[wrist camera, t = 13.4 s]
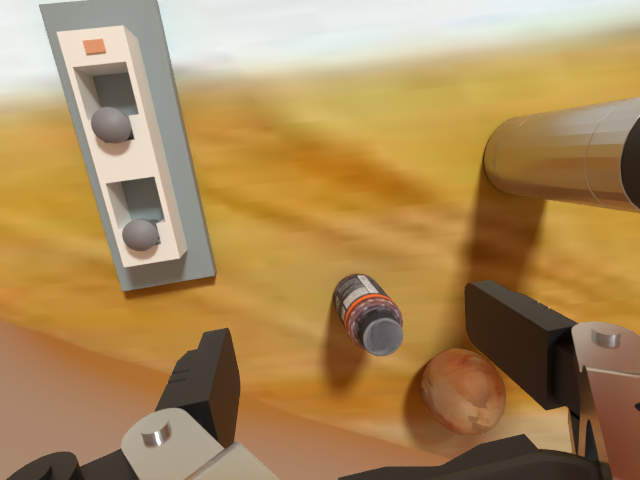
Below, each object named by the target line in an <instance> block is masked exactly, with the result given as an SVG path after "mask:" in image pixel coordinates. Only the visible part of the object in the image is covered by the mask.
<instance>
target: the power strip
mask: <svg viewBox="0 0 640 480" xmlns="http://www.w3.org/2000/svg"><path fill="white" fill-rule="evenodd" d="M57 36H58V39H59V43H60V46H61V50H62V53H63V57H64V60H65V64H66V67H67V71H68V74H69V78H70V81H71V85H72V88H73V92H74V95H75V99H76V102H77V106H78V109H79V113H80V116H81V120H82V123H83V127H84V130H85V134H86V137H87V141H88V144H89V148H90V151H91V155H92V158H93V162H94V165H95V169H96V172H97V176H98V179H99V183H100V186H101V190H102V193H103V197H104V200H105V204H106V207H107V211H108V214H109V218H110V221H111V225H112V228H113V232H114V235H115V239H116V242H117V246H118V249H119V253H120V256H121V260H122V263H123V267H130V266H136V265H142V264H149V263H155V262H161V261H167V260H173V259H179V258H181V257H182V255H183V254H184V253H185V252H186V251H187V250H188V249H187V244H186V240H185V236H184V232H183V227H182V223H181V219H180V215H179V211H178V206H177V202H176V198H175V194H174V189H173V185H172V181H171V177H170V172H169V168H168V164H167V160H166V156H165V151H164V147H163V143H162V139H161V134H160V130H159V126H158V122H157V117H156V113H155V109H154V105H153V101H152V96H151V92H150V88H149V84H148V79H147V75H146V71H145V67H144V62H143V58H142V54H141V50H140V46H139V41H138V38H137V37H136V36H134V35H133V34H132V33H131V32H130V31H129V30H128V29H127V28H126V27H124V26H123V25H121V26H111V27H101V28H91V29H81V30H70V31H60V32H57ZM126 72H129V76H130V80H131V84H132V88H133V92H134V96H135V100H136V104H137V108H138V113H139V114H137V115H129V119H130V123H131V127H132V131H133V135H134V139H135V140H127V141H124V142H121V143H107V142H104V141H102V140H101V139H99V138H98V137H97V136H96V135H95V134H94V132H93V130H92V127H91V118H92V116H93V114H94V112H95V111H97V110H98V109H100V108H101V106H100V102H99V99H98V95H97V91H96V87H95V84H94V80H93V76H99V75H108V74H117V73H126ZM148 177H155V181H156V185H157V189H158V193H159V197H160V201H161V206H162V210H163V214H164V218H165V219H163V220H161V221H160V222H158V223H156V225H157V229H158V233H159V237H160V238H159V239H158V241H157V242H156V244H155V245H154V246H153V247H151V248H150V249H148V250H146V251H135V250H132V249H130V248H129V247H128V246H127V245H126V244H125V243H124V241H123V238H122V231H123V228H124V227H125V225H126V224H128V223H129V222H131V221H132V220H131V217H130V213H129V209H128V206H127V202H126V198H125V195H124V191H123V187H122V183H121V181H126V180H133V179H140V178H148Z"/></svg>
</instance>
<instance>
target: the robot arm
mask: <svg viewBox="0 0 640 480" xmlns="http://www.w3.org/2000/svg"><path fill="white" fill-rule="evenodd" d="M484 165H485V171H486V174H487V177H488V178H489V180H490V182H491V183H492V184H493V185H494V186H495V187H496V188H497V189H499V190H500V191H502V192H505V193H508V194H514V195H521V196H527V197H533V198H540V199H547V200H553V201H560V202H567V203H573V204H580V205H587V206H594V207H600V208H607V209H614V210H622V211H629V212H635V213H640V97H636V98H630V99H623V100H617V101H611V102H605V103H599V104H593V105H587V106H581V107H575V108H569V109H563V110H557V111H551V112H544V113H538V114H532V115H526V116H520V117H515V118H513V119H510V120H508V121H506V122H505V123H503V124H502V125H501V126H499V127H498V128H497V129H496V130H495V132H494V133H493V134H492V136H491V137H490V139H489V142H488V144H487V146H486V150H485V156H484ZM465 315H466V330H467V333H468V336H469V338H470V340H471V342H472V343H473V344H474V345H475V346H476V347H477V348H478V349H479V350H480V351H481V352H483V353H484V354H485V355H486V356H487V357H488V358H489V359H490V360H491V361H492V362H494V363H495V364H496V365H497V366H498V367H499V368H500V369H501V370H502V371H503V372H504V373H506V374H507V375H508V376H509V377H510V378H511V379H512V380H513V381H514V382H515V383H517V384H518V385H519V386H520V387H521V388H522V389H523V390H524V391H525V392H526V393H527V394H529V395H530V396H531V397H532V398H533V399H534V400H535V401H536V402H537V403H538V404H540V405H541V406H542V407H543V408H544V409H545V410H550V409H554V408H559V407H563V406H567V407H568V425H569V432H570V440H571V447H572V454H571V453H567V452H562V451H556V450H546V449H538V448H537V447H536V446H535V445H534V444H533V443H532V442H531V441H530V440H529V439H528V437H527V436H526V435H525V434H521V435H517V436H513V437H509V438H504V439H500V440H496V441H492V442H488V443H483V444H480V445H478V446H476V447H474V448H473V449H471V450H469V451H467V452H465V453H464V454H462V455H460V456H458V457H456V458H454V459H453V460H451V461H449V462H447V463H445V464H444V465H441V466H434V467H383V468H379V469H374V470H370V471H365V472H362V473H357V474H353V475H349V476H344V477H341V478H338V480H640V336H639V335H638V334H636V333H635V332H633V331H631V330H629V329H626V328H624V327H621V326H618V325H614V324H609V323H602V322H584V323H580V324H578V323H576V322H575V321H573V320H571V319H569V318H567V317H565V316H563V315H561V314H560V313H558V312H556V311H554V310H552V309H548V307H547V306H545V305H543V304H541V303H538V302H537V301H535V300H534V299H532V298H530V297H528V296H526V295H524V294H520V293H517V292H513V291H510V290H509V289H507V288H505V287H503V286H501V285H500V284H498V283H496V282H494V281H492V280H484V281H478V282H473V283H468V284H467V285H466V286H465ZM239 397H240V376H239V370H238V365H237V361H236V356H235V352H234V347H233V343H232V338H231V334H230V331H229V329H228V328H224V329H219V330H214V331H208V332H204V333H203V336H202V338H201V341H200V344H199V346H198V349H196V350H191V351H188V352H187V353H186V354H185V355H184V356H183V357H182V358H181V359H179V360H178V361H177V363H176V365H175V368H174V370H173V372H172V375H171V376H170V379H169V381H168V384H167V385H166V387H165V390H164V392H163V394H162V396H161V398H160V401H159V403H158V405H157V407H156V410H155V412H154V413H152V414H150V415H148V416H146V417H144V418H143V419H141V420H140V421H138V422H137V423H136V424H134V425H133V426H132V427H131V428H130V429H129V431H128V432H127V433H126V434H125V436H124V438H123V440H122V444H121V449H119V450H117V451H115V452H113V453H111V454H109V455H106V456H104V457H102V458H99V459H97V460H94V461H92V462H90V463H88V464H85V465H83V466H81V467H80V466H79V463H78V460H77V458H76V456H75V455H74V454H73V453H71V452H56V453H52V454H49V455H46V456H43V457H41V458H39V459H37V460H35V461H32V462H31V463H29V464H27V465H25V466H24V467H22V468H21V469H19V470H18V471H16V472H15V473H14V474H12V475H11V476H10V477H9V478H8V479H6V480H280V479H279V478H278V477H277V476H276V475H275V474H273V472H271V471H270V470H269V469H268V468H267V467H266V466H265V465H263V464H262V463H261V462H260V461H259V460H258V459H257V458H256V457H255V456H254V455H252V454H251V453H250V452H249V451H248V450H247V449H246V448H245V447H243V446H242V445H241V444H240V443H238V442H234V437H235V428H236V421H237V413H238V405H239Z"/></svg>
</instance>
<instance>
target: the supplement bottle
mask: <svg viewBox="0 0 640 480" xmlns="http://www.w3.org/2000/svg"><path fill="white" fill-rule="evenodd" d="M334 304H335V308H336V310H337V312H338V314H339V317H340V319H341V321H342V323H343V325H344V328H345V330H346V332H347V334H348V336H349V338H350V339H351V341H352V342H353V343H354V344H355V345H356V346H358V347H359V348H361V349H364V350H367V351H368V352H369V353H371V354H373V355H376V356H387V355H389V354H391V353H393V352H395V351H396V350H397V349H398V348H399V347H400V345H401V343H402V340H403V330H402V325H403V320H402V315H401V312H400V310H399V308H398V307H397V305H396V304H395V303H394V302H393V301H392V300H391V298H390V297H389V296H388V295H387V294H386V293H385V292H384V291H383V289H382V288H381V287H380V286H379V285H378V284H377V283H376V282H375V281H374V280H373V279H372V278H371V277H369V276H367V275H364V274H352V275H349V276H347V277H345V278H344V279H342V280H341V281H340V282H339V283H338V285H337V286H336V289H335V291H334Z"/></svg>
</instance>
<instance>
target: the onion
mask: <svg viewBox="0 0 640 480" xmlns="http://www.w3.org/2000/svg"><path fill="white" fill-rule="evenodd" d="M420 390H421V395H422V397H423V400H424V402H425V403H426V405H427V407H428V408H429V409H430V411H431V413H432V414H433V415H434V417H435V418H436V419H437V420H438V421H439V422H440V423H441V424H442V425H443V426H444V427H446V428H447V429H449V430H451V431H453V432H455V433H458V434H461V435H475V434H481V433H484V432H486V431H488V430H490V429H492V428H493V427H494V426H495V425H496V424H497V422H498V421H499V420H500V418H501V416H502V414H503V412H504V408H505V401H506V393H505V386H504V383H503V380H502V378H501V377H500V376H499V374H498V372H497V371H496V369H495V368H494V367H493V365H492V364H491V363H490V362H489V361H488V360H487V359H486V358H484V357H483V356H481V355H479V354H477V353H475V352H473V351H470V350H466V349H460V348H452V349H448V350H446V351H443V352H441V353H439V354H438V355H436V356H435V357H434V358H433V359H432V360H431V361H430V362H429V363H428V365H427V366H426V368H425V371H424V373H423V376H422V381H421V389H420Z"/></svg>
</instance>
